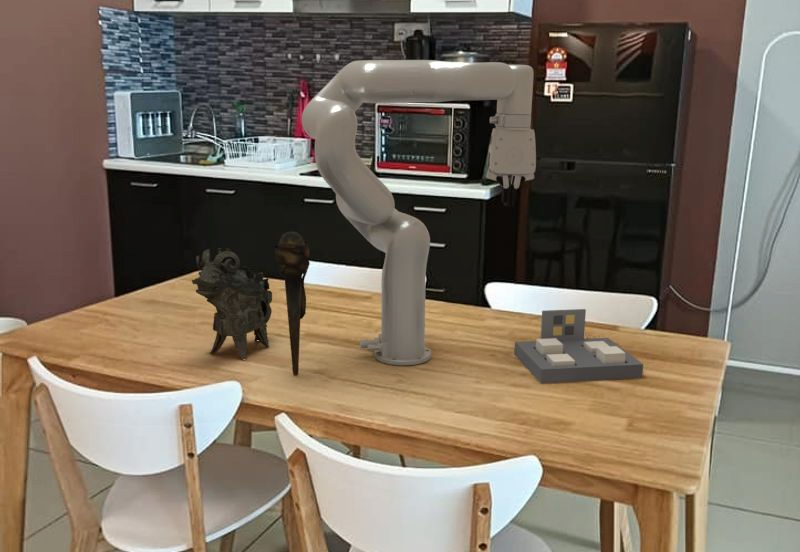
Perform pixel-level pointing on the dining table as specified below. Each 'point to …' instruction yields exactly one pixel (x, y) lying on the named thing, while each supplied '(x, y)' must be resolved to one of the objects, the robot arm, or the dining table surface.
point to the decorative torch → (294, 285)
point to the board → (576, 363)
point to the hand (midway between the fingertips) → (508, 205)
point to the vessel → (234, 299)
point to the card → (563, 324)
